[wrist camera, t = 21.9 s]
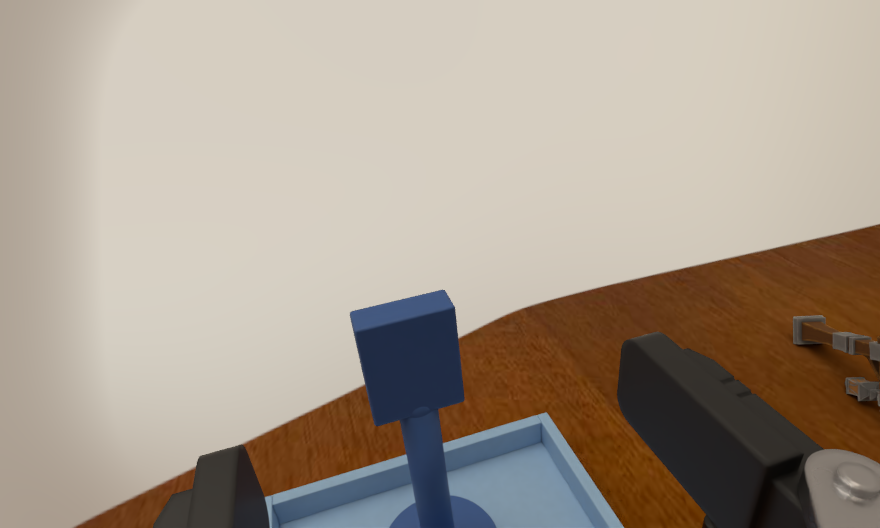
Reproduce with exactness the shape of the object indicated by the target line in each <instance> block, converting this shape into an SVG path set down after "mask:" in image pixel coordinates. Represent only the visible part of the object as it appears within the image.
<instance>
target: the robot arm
mask: <svg viewBox="0 0 880 528" xmlns="http://www.w3.org/2000/svg"><path fill="white" fill-rule="evenodd" d="M617 397H618V402H619V406H620V409H621V411H622V413H623V415H624V417H625V418H626V420H627V421H628V422H629V424H630V425H631V426H632V427H633V428H634V430H635V431H636V432H637V433H638V434H639V435H640V437H641V438H642V439H643V440H644V441H645V443H646V444H647V445H648V446H649V447H650V448H651V450H652V451H653V452H654V453H655V454H656V456H657V457H658V458H659V459H660V460H661V461H662V463H663V464H664V465H665V466H666V467H667V468H668V470H669V471H670V472H671V473H672V474H673V476H674V477H675V478H676V479H677V480H678V481H679V483H680V484H681V485H682V486H683V487H684V489H685V490H686V491H687V492H688V493H689V494H690V496H691V497H692V498H693V499H694V500H695V502H696V503H697V504H698V505H699V506H700V507H701V509H702V510H703V511H704V512H705V513H706V515H707V516H708V517H709V518H710V519H711V520H712V522H713V523H714V524H715V525H716V526H717V527H718V528H880V464H879V463H877V462H875V461H873V460H871V459H869V458H867V457H864V456H862V455H859V454H856V453H853V452H849V451H845V450H837V449H826V450H824V449H823V448H822V447H820V446H819V445H818V444H816V443H815V442H814V441H813V440H811V439H810V438H809V437H808V436H807V435H805V434H804V433H803V432H802V431H800V430H799V429H798V428H797V427H795V426H794V425H793V424H792V423H791V422H789V421H788V420H787V419H786V418H784V417H783V416H782V415H781V414H779V413H778V412H777V411H776V410H774V409H773V408H772V407H771V406H770V405H768V404H767V403H766V402H765V401H763V400H762V399H761V398H760V397H758V396H757V395H756V394H752V393H751V390H750V389H749V388H747V387H746V386H745V385H744V384H742V383H741V382H740V381H739V380H735V379H734V376H733V375H731V374H730V373H729V372H728V371H726V370H725V369H724V368H723V367H721V366H720V365H719V364H718V363H717V362H715V361H714V360H712V359H710V358H708V357H706V356H704V355H701V354H699V353H697V352H695V351H693V350H691V349H688V348H687V349H684V350H683V349H681V348H680V347H679V346H678V345H677V344H675V343H674V342H673V341H672V340H671V339H670V338H668V337H667V336H666V335H665V334H663V333H661V332H654V333H651V334H647V335H643V336H640V337H636V338H632V339H629V340H626V341H625V342H624V343H623V345H622V349H621V359H620V369H619V380H618V390H617ZM153 528H270V524H269V515H268V509H267V505H266V501H265V497H264V494H263V492H262V489H261V487H260V484H259V482H258V479H257V476H256V474H255V471H254V469H253V466H252V464H251V461H250V458H249V456H248V453H247V451H246V449H245V447H244V446H243V445H238V446H235V447H231V448H227V449H224V450H220V451H216V452H213V453H210V454H206V455H202V456H200V457H199V459H198V462H197V465H196V471H195V478H194V484H193V489H190V490H186V491H183V492H179V493H176V494H173V495H172V496H171V497H170V499H169V501H168V502H167V504H166V505H165V507H164V509H163V510H162V512H161V513H160V515H159V517H158V518H157V520H156V521H155V523H154V526H153Z"/></svg>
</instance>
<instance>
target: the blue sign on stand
mask: <svg viewBox="0 0 880 528" xmlns="http://www.w3.org/2000/svg"><path fill="white" fill-rule="evenodd" d="M350 318H351V322H352V327H353V331H354V336H355V340H356V345H357V349H358V353H359V358H360V363H361V367H362V372H363V376H364V380H365V385H366V390H367V394H368V399H369V403H370V407H371V411H372V416H373V420H374V424H375V425H376V426H380V425H383V424H387V423H390V422H394V421H397V420H400V423H401V428H402V434H403V439H404V444H405V450H406V455H407V460H408V465H409V471H410V476H411V481H412V486H413V492H414V497H415V503H413V504H412V505H410V506H409V507H407V508H406V509H405V510H403V511H402V512H401V513H400V514H399V515H398V516H397V517H396V518H395V520H394V521H393V522H392V524H391V525H390V527H389V528H497V527H496V525H495V523H494V522H493V520H492V519H491V517H490V516H489V515H488V514H487V513H486V512H485V511H484V510H483V509H482V508H481V507H480V506H478V505H477V504H475V503H474V502H472V501H470V500H468V499H465V498H462V497H458V496H452V495H450V492H449V485H448V478H447V470H446V463H445V456H444V449H443V442H442V435H441V427H440V420H439V413H438V409H439V408H443V407H446V406H450V405H453V404H457V403H460V402H463V401H464V390H463V380H462V371H461V361H460V352H459V342H458V333H457V323H456V314H455V307H454V305H453V303H452V302H451V300H450V298H449V297H448V295H447V293H446V292H445V290H439V291H435V292H431V293H427V294H423V295H419V296H415V297H410V298H406V299H402V300H398V301H394V302H389V303H385V304H381V305H377V306H373V307H369V308H364V309H360V310H356V311H352V312H351V313H350Z"/></svg>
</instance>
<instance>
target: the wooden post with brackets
mask: <svg viewBox="0 0 880 528" xmlns="http://www.w3.org/2000/svg"><path fill="white" fill-rule="evenodd" d="M819 343H825V344H829V345H832V346H833V349H839V350H842V351H844V352H845V353H849V354H852V355H864V356H866V357H867V358H868V360H869V362H870V364H871V366H872V368H873V370H874V372H875V374H876V376H877V378H878V380H879V382H880V336H878V337H877V341H873V340H871V337H868V336H864V335H856V334H852V333H851V332H839V331H837V330H835V329H833V328H831V327H829V326H827V325H825V317H823V316H822V315H819V316H799V317H793V344H819ZM879 382H868V381H866V380H865V379H864V377H856V378H846V381H845V386H846V394H853V395H856V396H858V401H878V406H880V389H879Z"/></svg>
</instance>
